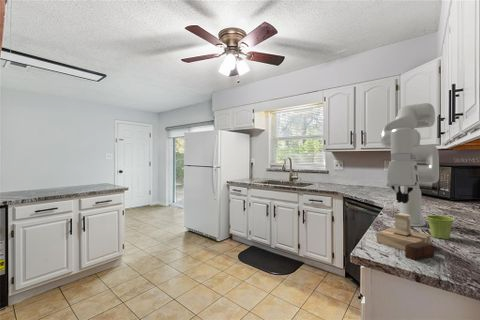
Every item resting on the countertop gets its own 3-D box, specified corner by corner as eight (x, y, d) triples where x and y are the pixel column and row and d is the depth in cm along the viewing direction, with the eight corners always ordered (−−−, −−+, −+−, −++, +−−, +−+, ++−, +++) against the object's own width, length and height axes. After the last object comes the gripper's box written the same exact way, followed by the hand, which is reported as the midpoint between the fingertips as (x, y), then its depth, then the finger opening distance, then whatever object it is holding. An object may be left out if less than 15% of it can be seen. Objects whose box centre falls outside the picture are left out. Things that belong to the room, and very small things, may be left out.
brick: (417, 262, 77) (417, 248, 77) (404, 257, 81) (404, 244, 81) (435, 256, 81) (435, 243, 81) (422, 252, 85) (422, 240, 85)
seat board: (392, 235, 103) (391, 227, 103) (430, 245, 91) (430, 235, 91) (376, 242, 95) (376, 232, 95) (416, 253, 84) (416, 242, 84)
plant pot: (420, 234, 104) (420, 215, 104) (437, 232, 106) (437, 214, 106) (443, 241, 95) (442, 221, 95) (460, 239, 97) (460, 219, 97)
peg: (399, 241, 96) (399, 213, 96) (410, 244, 93) (410, 215, 93) (395, 243, 94) (394, 214, 94) (406, 246, 91) (406, 216, 91)
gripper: (428, 157, 89) (429, 204, 89) (385, 158, 102) (386, 199, 102) (421, 157, 85) (421, 206, 85) (377, 158, 98) (378, 201, 98)
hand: (402, 202), depth 93 cm, fingers closed
